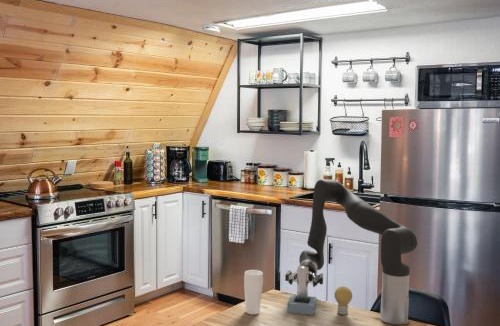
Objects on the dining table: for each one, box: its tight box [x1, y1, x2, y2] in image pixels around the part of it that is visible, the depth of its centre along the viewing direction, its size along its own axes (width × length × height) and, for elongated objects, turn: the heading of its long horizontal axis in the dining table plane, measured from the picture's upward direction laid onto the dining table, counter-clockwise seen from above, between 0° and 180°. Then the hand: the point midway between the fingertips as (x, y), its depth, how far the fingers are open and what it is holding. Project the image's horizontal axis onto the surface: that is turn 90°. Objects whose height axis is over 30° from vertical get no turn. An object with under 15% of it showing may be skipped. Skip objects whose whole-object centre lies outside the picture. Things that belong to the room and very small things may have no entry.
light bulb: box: [334, 286, 353, 316], centre depth 191 cm, size 6×6×10 cm
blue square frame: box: [286, 294, 317, 316], centre depth 194 cm, size 10×10×4 cm
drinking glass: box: [243, 269, 264, 316], centre depth 189 cm, size 7×7×15 cm
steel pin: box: [296, 266, 309, 303], centre depth 194 cm, size 4×4×16 cm
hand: (302, 283), depth 192 cm, fingers open, 8 cm apart
